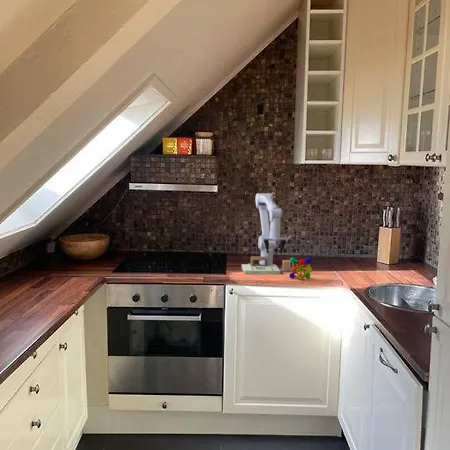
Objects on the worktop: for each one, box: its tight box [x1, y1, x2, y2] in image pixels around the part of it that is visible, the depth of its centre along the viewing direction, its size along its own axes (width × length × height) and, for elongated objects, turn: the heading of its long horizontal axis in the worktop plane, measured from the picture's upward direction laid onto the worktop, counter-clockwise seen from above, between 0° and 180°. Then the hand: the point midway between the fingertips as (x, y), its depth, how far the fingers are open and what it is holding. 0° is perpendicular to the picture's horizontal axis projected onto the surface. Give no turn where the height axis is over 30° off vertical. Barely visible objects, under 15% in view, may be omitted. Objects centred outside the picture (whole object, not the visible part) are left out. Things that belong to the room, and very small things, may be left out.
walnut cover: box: [249, 255, 268, 266], centre depth 278 cm, size 7×9×4 cm
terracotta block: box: [281, 259, 292, 271], centre depth 274 cm, size 4×4×5 cm
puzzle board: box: [241, 262, 281, 275], centre depth 273 cm, size 16×20×3 cm
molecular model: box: [289, 256, 313, 281], centre depth 256 cm, size 11×7×12 cm, turn 92°
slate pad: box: [278, 267, 292, 273], centre depth 275 cm, size 7×7×1 cm
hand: (274, 253), depth 274 cm, fingers open, 7 cm apart
